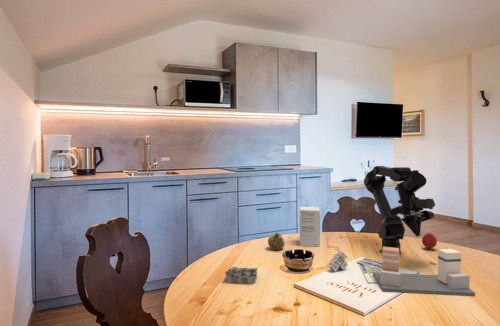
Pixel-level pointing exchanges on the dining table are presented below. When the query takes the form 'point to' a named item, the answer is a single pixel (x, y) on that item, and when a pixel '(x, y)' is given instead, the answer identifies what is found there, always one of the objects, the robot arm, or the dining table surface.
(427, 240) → the onion
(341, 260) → the building blocks
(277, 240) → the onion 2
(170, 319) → the dining table surface
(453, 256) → the white tall rectangular block
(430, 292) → the grey base plate
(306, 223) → the supplement box
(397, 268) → the salmon pink block
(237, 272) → the egg carton
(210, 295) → the dining table surface
